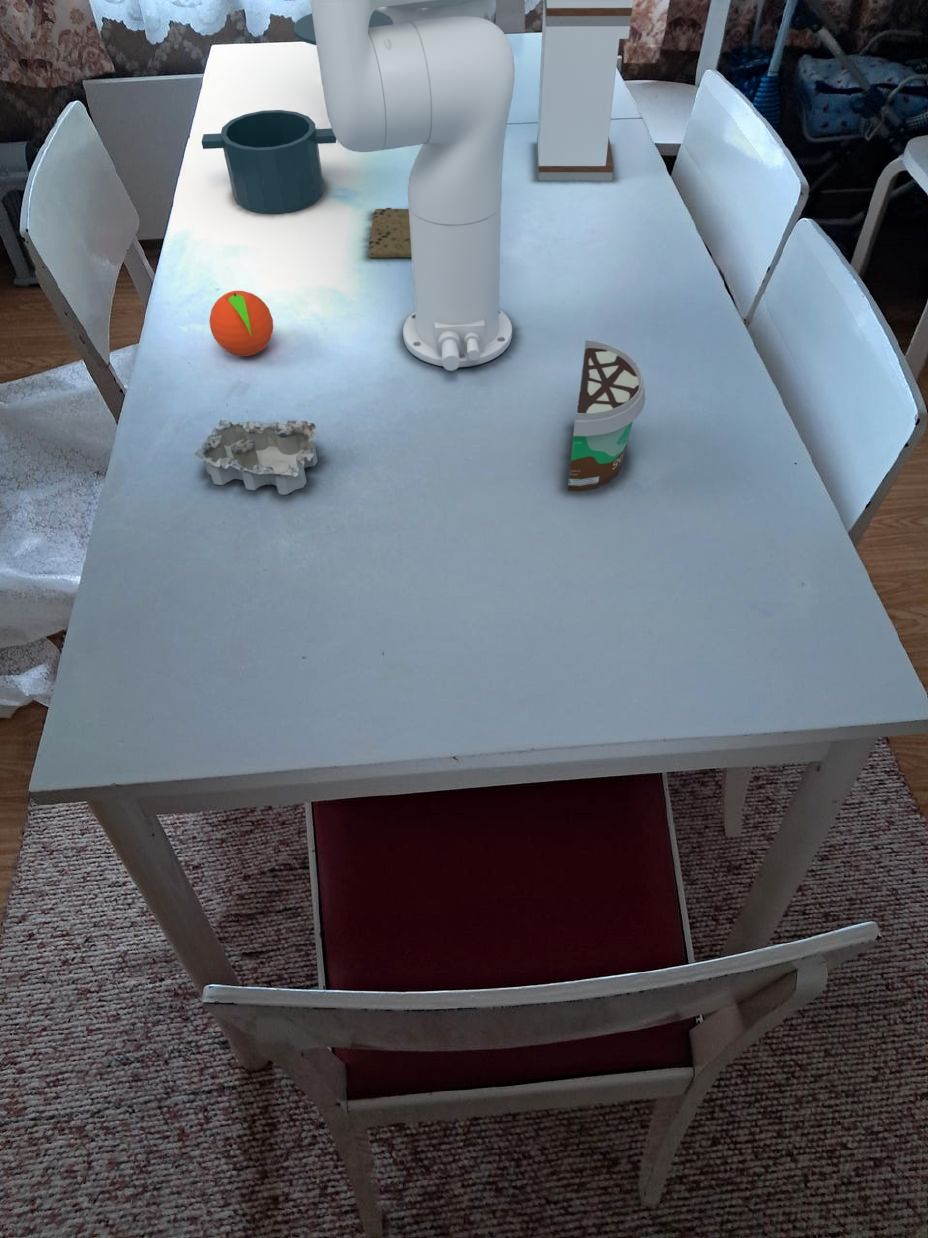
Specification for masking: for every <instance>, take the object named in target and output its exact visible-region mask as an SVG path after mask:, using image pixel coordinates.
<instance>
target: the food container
mask: <svg viewBox="0 0 928 1238" xmlns="http://www.w3.org/2000/svg"><path fill="white" fill-rule="evenodd" d="M582 360H583V361H582V369H581V377H580V385H579V392H578V393H579V394H578V401H577V402H578V404H577V412H575V417H574V423H573V424H574V425H573V434H572V446H571V454H570V464H569V473H568V484H567V491H569V492H570V491H572V492H582V491H589V490H595V489H597V488H599V487H602V486H604V485H607V484H608V483H610V482H611V481H612V480H613V479H615V478H616V477H617V476H618V474H619V472H620V470H621V467H622V464H623V460H624V456H625V452H626V449H627V445H628V442H629V437H630V434H631V429H632V425H633V421H635V420H636V419H637V418H638V417H639V415H640V414H641V413H642V411H643V409H644V407H645V403H646V391H645V390H646V389H645V380H644V375H643V374H642V371H641V369H640V366H639V365H638V363H637V362H636V360H635V359H633V358H632V357H631V355H629V354H628V353H626V352H625V351H623V350H621V349H620V348H618V347H616V346H613V345H611V344H608V343H605V342H601V341H598V340H597V341H596V340H591V339H590V340H589V339H585V341H584V349H583V359H582Z"/></svg>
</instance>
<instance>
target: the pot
mask: <svg viewBox="0 0 928 1238" xmlns="http://www.w3.org/2000/svg"><path fill="white" fill-rule="evenodd" d="M321 144H323V145H324V144H325V145H327V144H337V139H336V137H335V135H334V133H333V131H332V128H331V127H329V128H316V123H315V122H314V120H313V119H312V118H310V116H308V115H305V114H304V113H300V112H297V111H291V110H284V109H269V110H268V109H267V110H259V111H254V112H249V113H245V114H242V115H240V116H237V117H235V118H233V119H230V120H229V121H228V122H227V123H225V124H224V125H223V126H222V127H221V130H220V133H203V134H202V138H201V146H202V149H203V150H211V149H212V150H213V149H215V150H216V149H223V154H224V159H225V163H226V167H227V172H228V177H229V181H230V184H231V186H230V187H231V189H232V195H233V197H234V199H235V202H236V203H237V204H238V206H240V207H241V208H243V209H244V210H247V211H250V212H253V213H257V214H258V213H259V214H263V215H280V214H282V215H283V214H288V213H294V212H297V211H301V210H303V209H306V208H308V207H310V206H312V205H313V204H315V203H317V202H318V201H319V200H320V199H321V197H323V194H324V178H323V177H324V176H323V171H322V162H321V155H320V149H319V145H321Z"/></svg>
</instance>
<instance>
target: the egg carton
mask: <svg viewBox="0 0 928 1238" xmlns="http://www.w3.org/2000/svg"><path fill="white" fill-rule="evenodd" d="M316 429H317V427H316V425H315V423H313V422H308V421H306V420H300V421H299V420H298V419H297V420H296V419H294V420H287V421H286V423H282V422H281V423H280V422H279V421H274V422H273V423H271V422H262V421H259V420H255V421H245V422H240V421H239V422H236V423H235V424H234V423H232V421H230V420H227V419H224V420H222V419H220V421H219V425H218V427H216V426H215V427H213V428H212V430H211V434H209V435H207V438H206V439H205V440H204V441H203V442H202V443H201V447H200V448H199V449H198V450H196V451H195V452H194V456H196V457H198V458H199V459H201V461H203V464H204V467H205V469H206V470H205V471H206V473H207V474H208V475H210V476H211V480H212V482H213V484H214V485H218V486H224V485H225V484H226V483H229V482H231V481H232V480H240V481H243V483H244V487H245V489H246V490H248V491H256V490H257V489H259V488H260V487H263V486H265V485H272V486H275V487H276V489H277V492H278V494H279V495H281V496H286V495H289V494H290V493H292V492H294V491H297V490H300V489H304V487H305V485H307V482H308V481H307V477H306V472H305V469H307V468H311V467H315V466H316V464H317V463H318V459H319V458H318V455H317V450H316V445H315V442H314V441H313V438H314V436H315V432H316Z"/></svg>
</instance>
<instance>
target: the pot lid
mask: <svg viewBox="0 0 928 1238" xmlns="http://www.w3.org/2000/svg"><path fill="white" fill-rule="evenodd" d="M385 25H393V21H392V19H391V18H390V17H389V16H387V15H386V14H384V13H381V12H378V11H375V10H374V11H373V13H372V15H371V18H370V21H369V28H370V27H378V26H385ZM293 33H294V36H295V37H296V38H297V39H298V40H300V41H302V42H303V43H306V44H309V45H312V46H313V45H314V46H317V45H316V38H315V31H314V24H313V17H312V12H311V13H309V14H306V15H304V16H302V17H301V18H299V19H298V20H297V21H296V22H294V25H293Z"/></svg>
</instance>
